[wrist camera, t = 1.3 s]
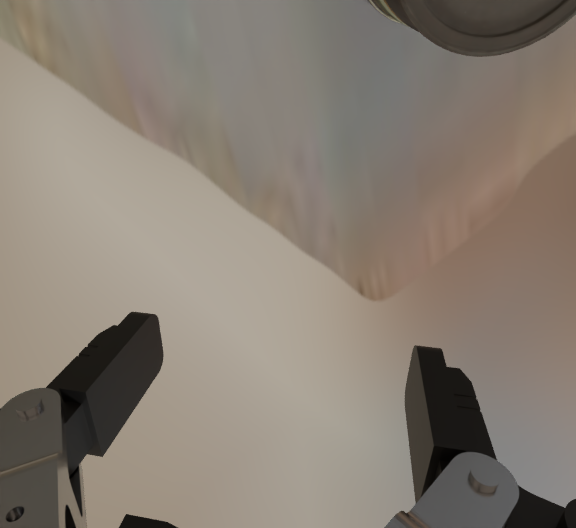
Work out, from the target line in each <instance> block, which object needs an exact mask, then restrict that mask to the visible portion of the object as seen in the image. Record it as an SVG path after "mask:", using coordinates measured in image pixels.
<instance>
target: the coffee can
mask: <svg viewBox="0 0 576 528" xmlns="http://www.w3.org/2000/svg"><path fill="white" fill-rule="evenodd" d="M369 1H370V3H371V4H372V5H373V6H374V7H375V8H376V9H377V10H378V11H379V12H380V13H381V14H383V15H384V16H386V17H387V18H389V19H390V20H393V21H395V22H398V23H402V24H404V25H406V26H408V27H410V28H412V29H414V30H416V31H418V32H420V33H421V34H422V35H423V36H425V37H426V38H427V39H429V40H430V41H431V42H433V43H434V44H436V45H438V46H440V47H442V48H444V49H446V50H449V51H451V52H454V53H458V54H461V55H466V56H474V57H484V56H496V55H501V54H505V53H509V52H512V51H515V50H518V49H521V48H524V47H526V46H529V45H531V44H533V43H535V42H537V41H539V40H541V39H543V38H545V37H546V36H548V35H549V34H551V33H553V32H554V31H556V30H557V29H558V28H560V27H561V26H562V25H564V24H565V23H566V22H568V21H569V20H570V19H571V18H572V17H573V16H575V15H576V0H369Z"/></svg>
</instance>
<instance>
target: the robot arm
mask: <svg viewBox="0 0 576 528" xmlns="http://www.w3.org/2000/svg"><path fill="white" fill-rule="evenodd" d="M162 362H163V347H162V340H161V334H160V327H159V320H158V317H157V316H156V315H155V314H148V313H139V312H131V313H129V314H128V315H127V316H126V317H125V319H124V320H123V321H122V322H121V323H120V324H119V325H118V326H116V325H113V326H111V327H110V328H108V329H106V330H105V331H103V332H101V333H100V334H98V335H97V336H96V337H95V338H94V339H93V340H92V341H91V342H90V343H89V344H88V347H85V348H84V349H83V350H82V351H81V352H80V353H79V356H76V357H75V359H73V360H72V361H71V362H70V364H69V365H68V366H67V367H66V368H65V369H64V370H63V371H62V372H61V373H60V374H59V375H58V376H57V377H56V378H55V379H54V380H53V381H52V382H51V383H50V384H49V385H48V386H47V387H46V388H38V389H32V390H29V391H26V392H23V393H21V394H19V395H17V396H15V397H14V398H12V399H11V400H9V401H8V402H7V403H6V404H5V405H4V406H3V407H2V408H1V409H0V528H87V523H86V510H85V500H84V499H85V498H84V486H83V475H82V468H81V464H80V463H81V461H82V460H83V459H84V457H85V456H86V454H90V455H95V456H101V457H103V455H104V454H105V452H106V451H107V449H108V448H109V446H110V445H111V443H112V442H113V440H114V439H115V437H116V436H117V434H118V433H119V431H120V430H121V428H122V427H123V425H124V424H125V422H126V421H127V419H128V418H129V416H130V415H131V413H132V412H133V410H134V409H135V407H136V406H137V404H138V403H139V401H140V400H141V398H142V397H143V395H144V394H145V392H146V391H147V389H148V388H149V386H150V385H151V383H152V381H153V380H154V379H155V377H156V376H157V374H158V373H159V371H160V369H161V366H162ZM405 411H406V420H407V429H408V437H409V446H410V455H411V464H412V473H413V482H414V492H415V501H416V504H415V506H414V507H413V508H412V509H411V510H410V511H409V512H408V513H405V512H404V511H400V512H399V513H397V514H396V515H395V516H394V517H393V518H392V519H391V520H390V522H389V523H388V524H387V525H386V527H385V528H576V499H574V500H572V501H570V502H569V503H568V504H567V506H566V508H564V507H562V506H559V505H557V504H555V503H552V502H550V501H547V500H545V499H543V498H540V497H538V496H536V495H534V494H532V493H530V492H528V491H526V490H524V489H523V488H521V487H520V486H518V485H517V482H516V480H515V478H514V477H513V475H512V474H511V473H510V471H509V470H508V469H507V468H506V467H505V466H503V465H502V464H501V463H500V462H498V461H497V459H496V456H495V453H494V450H493V447H492V444H491V441H490V437H489V435H488V432H487V428H486V425H485V423H484V419H483V416H482V413H481V412H480V407H479V404H478V401H477V400H476V395H475V391H474V389H473V385H472V383H471V381H470V380H469V379H468V378H467V377H466V375H465V374H464V373H463V372H462V371H461V370H460V369H459V368H451V367H446V363H445V359H444V356H443V352H442V349H440V348H432V347H424V346H414V348H413V352H412V357H411V362H410V367H409V372H408V378H407V383H406V390H405ZM119 528H177V527H175V526H174V525H172V524H170V523H168V522H164V521H159V520H153V519H149V518H144V517H138V516H133V515H128V514H126V515H125V517H124V519H123V521H122V523H121V525H120V527H119Z"/></svg>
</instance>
